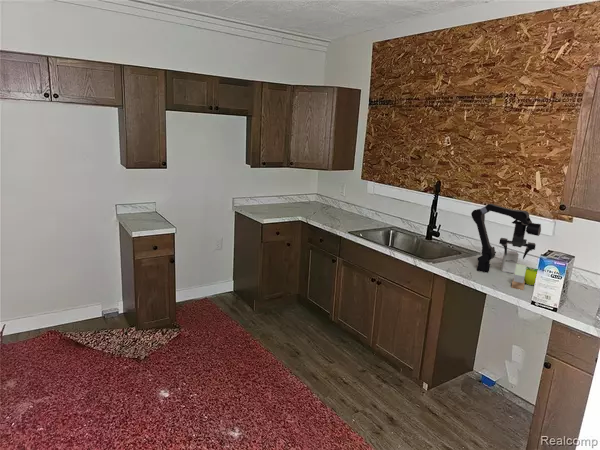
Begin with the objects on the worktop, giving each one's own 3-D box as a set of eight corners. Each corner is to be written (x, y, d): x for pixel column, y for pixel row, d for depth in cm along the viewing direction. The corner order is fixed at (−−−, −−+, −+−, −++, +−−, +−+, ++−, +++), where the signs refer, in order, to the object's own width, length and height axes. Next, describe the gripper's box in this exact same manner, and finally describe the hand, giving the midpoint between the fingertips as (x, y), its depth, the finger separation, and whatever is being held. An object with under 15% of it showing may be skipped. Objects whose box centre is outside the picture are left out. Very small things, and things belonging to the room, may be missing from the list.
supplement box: (502, 271, 256) (505, 252, 253) (500, 268, 263) (504, 249, 260) (515, 273, 254) (518, 254, 251) (513, 270, 260) (517, 251, 257)
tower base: (511, 288, 229) (512, 281, 228) (511, 284, 234) (512, 278, 233) (523, 290, 226) (524, 283, 225) (523, 287, 232) (524, 280, 231)
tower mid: (513, 281, 229) (514, 274, 228) (513, 278, 233) (515, 272, 232) (523, 283, 226) (524, 276, 225) (523, 280, 230) (525, 274, 229)
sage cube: (514, 274, 228) (516, 265, 227) (515, 271, 232) (516, 263, 231) (524, 276, 225) (526, 267, 224) (524, 273, 230) (526, 265, 228)
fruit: (519, 280, 242) (523, 264, 240) (537, 283, 239) (541, 267, 236) (520, 285, 234) (523, 268, 232) (539, 288, 230) (542, 272, 228)
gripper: (501, 232, 236) (496, 257, 240) (537, 237, 227) (532, 264, 231) (502, 228, 245) (497, 253, 249) (537, 233, 237) (532, 259, 241)
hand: (514, 257), depth 242 cm, fingers open, 9 cm apart
